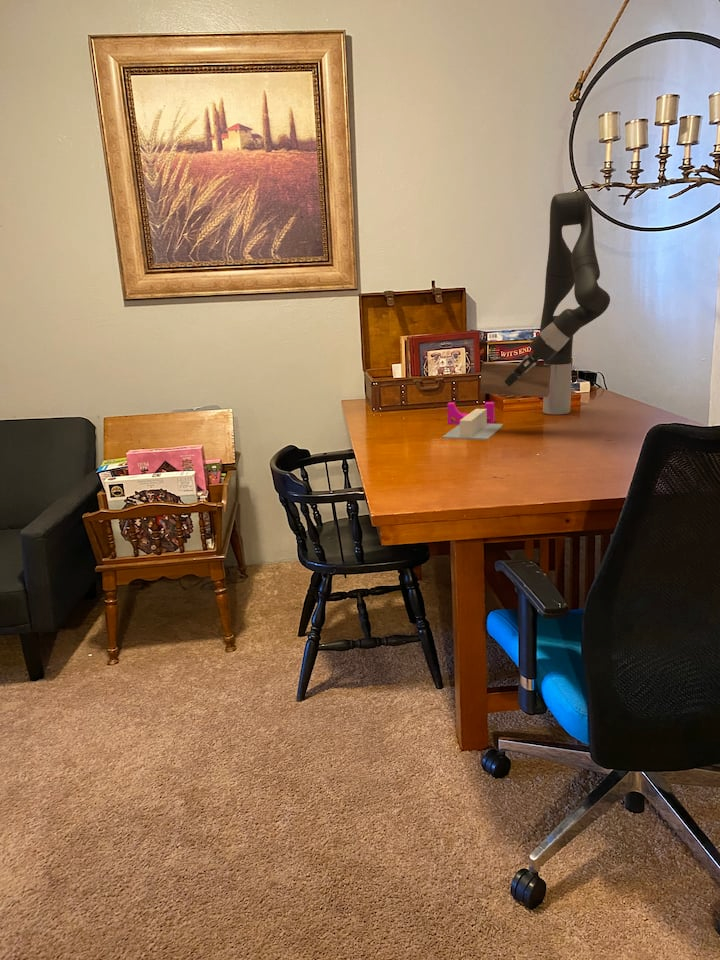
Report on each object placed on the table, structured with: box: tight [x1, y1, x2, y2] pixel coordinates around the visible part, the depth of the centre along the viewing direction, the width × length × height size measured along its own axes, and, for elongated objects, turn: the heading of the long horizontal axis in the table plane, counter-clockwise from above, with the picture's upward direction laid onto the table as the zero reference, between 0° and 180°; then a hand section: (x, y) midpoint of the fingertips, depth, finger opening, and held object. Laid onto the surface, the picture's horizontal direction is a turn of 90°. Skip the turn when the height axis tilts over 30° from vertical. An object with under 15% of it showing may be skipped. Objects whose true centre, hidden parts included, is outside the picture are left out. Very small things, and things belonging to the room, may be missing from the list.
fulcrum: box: [441, 408, 504, 441], centre depth 216 cm, size 22×14×6 cm, turn 157°
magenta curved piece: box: [446, 401, 496, 425], centre depth 230 cm, size 15×6×8 cm, turn 76°
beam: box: [479, 361, 551, 398], centre depth 209 cm, size 4×20×9 cm, turn 67°
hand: (508, 382), depth 210 cm, fingers closed on beam, 4 cm apart
